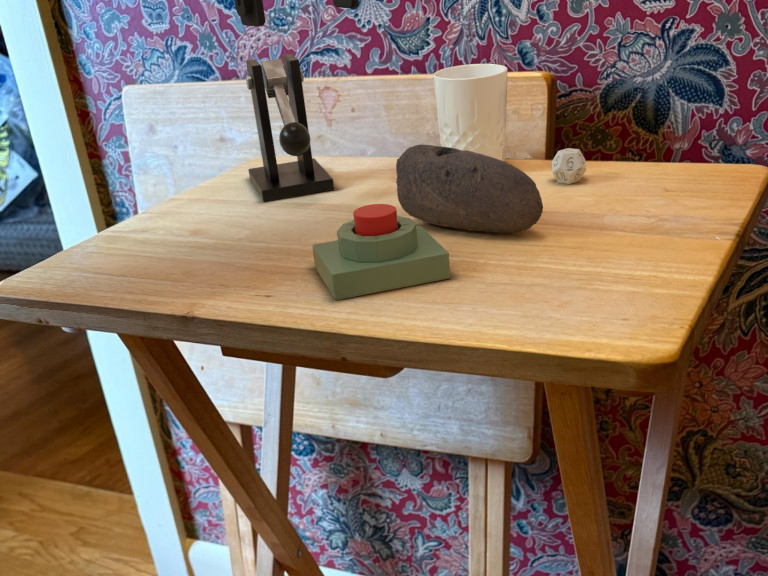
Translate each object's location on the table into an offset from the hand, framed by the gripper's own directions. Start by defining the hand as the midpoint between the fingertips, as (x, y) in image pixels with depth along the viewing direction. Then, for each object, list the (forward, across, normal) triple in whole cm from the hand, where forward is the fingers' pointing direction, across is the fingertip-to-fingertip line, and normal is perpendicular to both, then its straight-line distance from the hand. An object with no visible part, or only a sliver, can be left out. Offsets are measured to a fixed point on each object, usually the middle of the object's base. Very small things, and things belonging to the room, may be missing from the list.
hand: (301, 16), depth 78 cm
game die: (+18, +24, -9) cm, 32 cm away
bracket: (+18, +5, +16) cm, 25 cm away
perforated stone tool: (+18, +8, -12) cm, 24 cm away
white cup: (+18, +22, +3) cm, 29 cm away
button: (+15, -4, -15) cm, 21 cm away
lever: (+11, +4, +13) cm, 17 cm away
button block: (+18, -4, -15) cm, 24 cm away
